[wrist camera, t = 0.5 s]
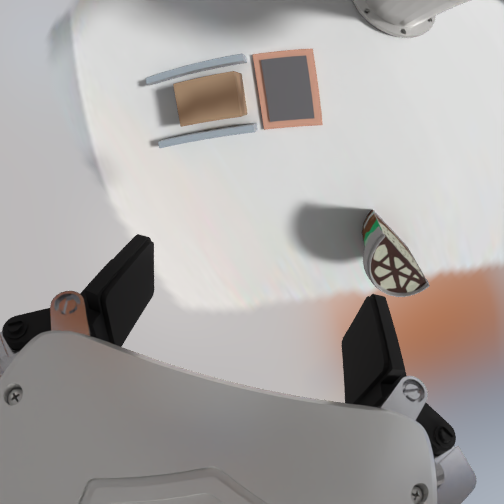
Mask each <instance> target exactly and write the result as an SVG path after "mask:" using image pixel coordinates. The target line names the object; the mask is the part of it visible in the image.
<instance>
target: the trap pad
mask: <svg viewBox="0 0 504 504" xmlns="http://www.w3.org/2000/svg"><path fill="white" fill-rule="evenodd" d="M253 60H254V67H255V73H256V79H257V85H258V92H259V98H260V105H261V112H262V119H263V126H264V129H274V128H284V127H297V126H312V125H323V124H322V115H321V106H320V97H319V89H318V82H317V74H316V67H315V61H314V54H313V49H299V50H287V51H277V52H268V53H260V54H253Z"/></svg>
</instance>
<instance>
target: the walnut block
mask: <svg viewBox="0 0 504 504" xmlns="http://www.w3.org/2000/svg"><path fill="white" fill-rule="evenodd" d="M173 85H174V91H175V97H176V103H177V109H178V114H179V120H180V125H181V127H182V126H187V125H192V124H197V123H203V122H209V121H215V120H221V119H228V118H235V117H241V116H244V115H247V108H246V101H245V94H244V87H243V80H242V74H240V73H238V72H235V71H232V72H226V73H221V74H215V75H210V76H205V77H201V78H196V79H192V80H188V81H183V82H179V83H175V84H173Z"/></svg>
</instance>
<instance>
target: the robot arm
mask: <svg viewBox="0 0 504 504" xmlns="http://www.w3.org/2000/svg"><path fill="white" fill-rule="evenodd" d="M468 1H470V0H353V2H354V4H355V7H356V8H357V10H358V11H359V12H360V14H361V15H362V16H363V17H364V18H365V19H366V20H367V21H368V22H369V23H371V24H372V25H373V26H375V27H376V28H378V29H379V30H381V31H383V32H385V33H387V34H390V35H393V36H396V37H402V38H412V37H417V36H420V35H422V34H424V33H426V32H427V31H429V29H430V28H431V27H432V26H433V24H434V22H435V16H436V15H438V14H440V13H442V12H444V11H447V10H449V9H451V8H453V7H456V6H458V5H460V4H463V3H465V2H468ZM364 11H366V12H367V14H366V13H365V12H364ZM400 31H402V32H403V34H402V33H401V32H400ZM153 293H154V243H153V242H152V241H151V239H150V238H149V237H146V236H142V235H139V234H138V235H136V236H135V237H134V238H133V239H132V240H131V241H130V242H129V243H128V244H127V245H126V246H125V247H124V248H123V249H122V250H121V251H120V252H119V253H118V254H117V255H116V256H115V258H114V259H112V260H110V261H109V263H108V264H107V265H106V266H105V267H104V268H103V269H102V270H101V271H100V272H99V273H98V275H97V276H96V277H95V278H94V279H93V280H92V281H91V282H90V283H89V284H88V286H87V287H86V288H85V289H84V290H83V291H82V292H81V294H79V293H77V292H75V291H65V292H61V293H60V294H58V295H56V296H55V297H54V298H53V300H52V302H51V307H50V308H48V309H43V310H39V311H35V312H31V313H26V314H22V315H18V316H14V317H12V318H10V319H9V320H8V321H7V322H6V323H5V324H4V327H3V330H2V332H0V504H461V503H462V502H463V501H464V500H465V499H466V498H467V496H468V495H469V494H470V493H471V492H472V491H473V489H474V488H475V485H476V476H475V473H474V471H473V470H472V468H471V467H470V465H469V463H468V461H467V460H466V458H465V456H464V455H463V453H462V451H461V450H460V448H459V446H457V447H455V446H454V444H455V440H456V436H455V432H454V430H453V428H452V427H451V425H449V423H447V422H446V421H445V420H444V419H443V418H442V417H441V416H440V415H439V414H438V413H437V412H436V411H434V410H433V409H432V408H431V407H430V406H429V405H428V404H427V403H426V401H427V397H428V394H427V393H428V392H427V389H426V387H425V385H424V383H422V381H421V380H419V379H418V378H416V377H413V376H406V372H405V367H404V363H403V359H402V355H401V351H400V347H399V343H398V339H397V335H396V332H395V328H394V325H393V322H392V318H391V314H390V311H389V308H388V304H387V301H386V298H385V297H384V296H380V295H375V294H372V295H371V296H370V297H369V296H368V297H367V298H366V299H365V301H364V303H363V305H362V306H361V308H360V310H359V312H358V314H357V315H356V317H355V319H354V320H353V322H352V324H351V326H350V327H349V329H348V331H347V332H346V334H345V336H344V337H343V340H342V355H343V369H344V385H345V403H340V402H333V401H326V400H319V399H312V398H305V397H300V396H294V395H289V394H284V393H279V392H273V391H269V390H264V389H259V388H255V387H250V386H246V385H242V384H238V383H233V382H229V381H226V380H222V379H218V378H215V377H211V376H207V375H204V374H200V373H197V372H193V371H190V370H187V369H183V368H180V367H177V366H174V365H171V364H168V363H165V362H162V361H159V360H156V359H152V358H150V357H147V356H144V355H142V354H139V353H136V352H133V351H130V350H127V349H125V348H122V347H121V346H122V345H123V343H124V341H125V340H126V338H127V336H128V335H129V333H130V331H131V330H132V328H133V327H134V325H135V323H136V322H137V320H138V319H139V317H140V315H141V314H142V312H143V310H144V309H145V307H146V306H147V304H148V302H149V301H150V299H151V298H152V296H153Z"/></svg>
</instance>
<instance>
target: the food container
mask: <svg viewBox="0 0 504 504" xmlns="http://www.w3.org/2000/svg"><path fill="white" fill-rule="evenodd" d="M362 235H363V241H364V246H365V249H364V254H363V264H364V269H365V272H366V274H367V276H368V277H369V279H370V280H371V282H372V283H373V284H374V285H375V287H376V288H378V289H379V290H380V291H382V292H384V293H386V294H388V295H391V296H396V297H405V296H410V295H414V294H417V293H419V292H421V291H423V290H425V289H426V288H428V287H429V283H428V281H427V279H426V278H425V276H424V275H423V273H422V271H421V269H420V268H419V266H418V264H417V262H416V261H415V259H414V257H413V256H412V254H411V252H410V251H409V249H408V247H407V246H406V245H405V244H404V242H403V241H402V240H401V239H400V238H399V237H398V236H397V235H396V234H395V233H394V231H393V230H392V229H391V228H390V227H389V226H388V225H387V224H386V223H385V222H384V221H383V220H382V219H381V218H380V217H379V216H378V215H377V214H376V213H375V212H374V210H372V211H371V212H370V213H369V214H368V215H367V217H366V219H365V221H364V223H363V230H362Z"/></svg>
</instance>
